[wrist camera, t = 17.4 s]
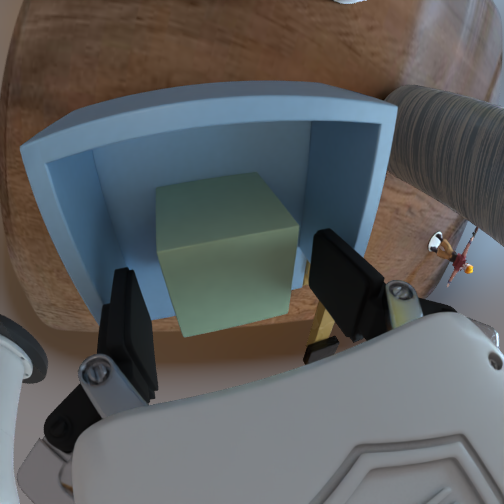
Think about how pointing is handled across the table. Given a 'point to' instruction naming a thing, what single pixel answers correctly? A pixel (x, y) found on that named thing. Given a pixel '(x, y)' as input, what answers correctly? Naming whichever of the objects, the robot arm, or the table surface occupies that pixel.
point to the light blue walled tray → (207, 174)
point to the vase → (452, 152)
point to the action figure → (451, 254)
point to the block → (225, 251)
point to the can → (347, 1)
